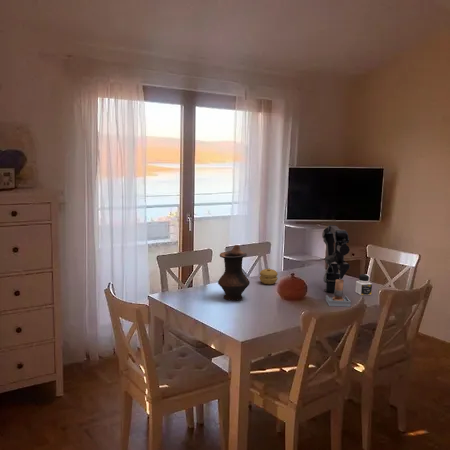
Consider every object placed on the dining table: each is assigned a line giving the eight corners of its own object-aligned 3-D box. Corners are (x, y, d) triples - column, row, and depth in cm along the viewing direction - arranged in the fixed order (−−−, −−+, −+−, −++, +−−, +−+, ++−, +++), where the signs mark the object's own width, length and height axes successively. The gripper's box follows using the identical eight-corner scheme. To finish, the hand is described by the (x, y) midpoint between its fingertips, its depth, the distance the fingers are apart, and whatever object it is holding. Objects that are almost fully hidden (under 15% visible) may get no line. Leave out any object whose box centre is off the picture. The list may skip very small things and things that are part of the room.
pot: (257, 284, 323) (257, 269, 321) (261, 280, 334) (262, 265, 333) (275, 286, 320) (275, 271, 318) (278, 282, 331) (279, 267, 329)
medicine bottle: (361, 295, 305) (362, 276, 303) (355, 292, 312) (356, 273, 310) (371, 294, 307) (372, 275, 305) (365, 291, 314) (366, 272, 312)
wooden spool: (330, 299, 289) (331, 279, 287) (337, 298, 293) (339, 278, 291) (338, 302, 284) (340, 282, 282) (346, 301, 288) (347, 280, 286)
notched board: (325, 299, 295) (325, 294, 294) (346, 300, 294) (346, 295, 294) (329, 306, 283) (329, 300, 282) (350, 306, 283) (350, 301, 282)
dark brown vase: (246, 304, 281) (248, 252, 277) (214, 301, 285) (215, 250, 280) (252, 294, 302) (253, 245, 297) (222, 291, 305) (223, 243, 301)
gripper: (320, 248, 301) (319, 273, 303) (332, 254, 283) (331, 281, 285) (337, 248, 303) (336, 273, 306) (351, 254, 285) (349, 281, 287)
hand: (337, 277), depth 296 cm, fingers open, 9 cm apart
